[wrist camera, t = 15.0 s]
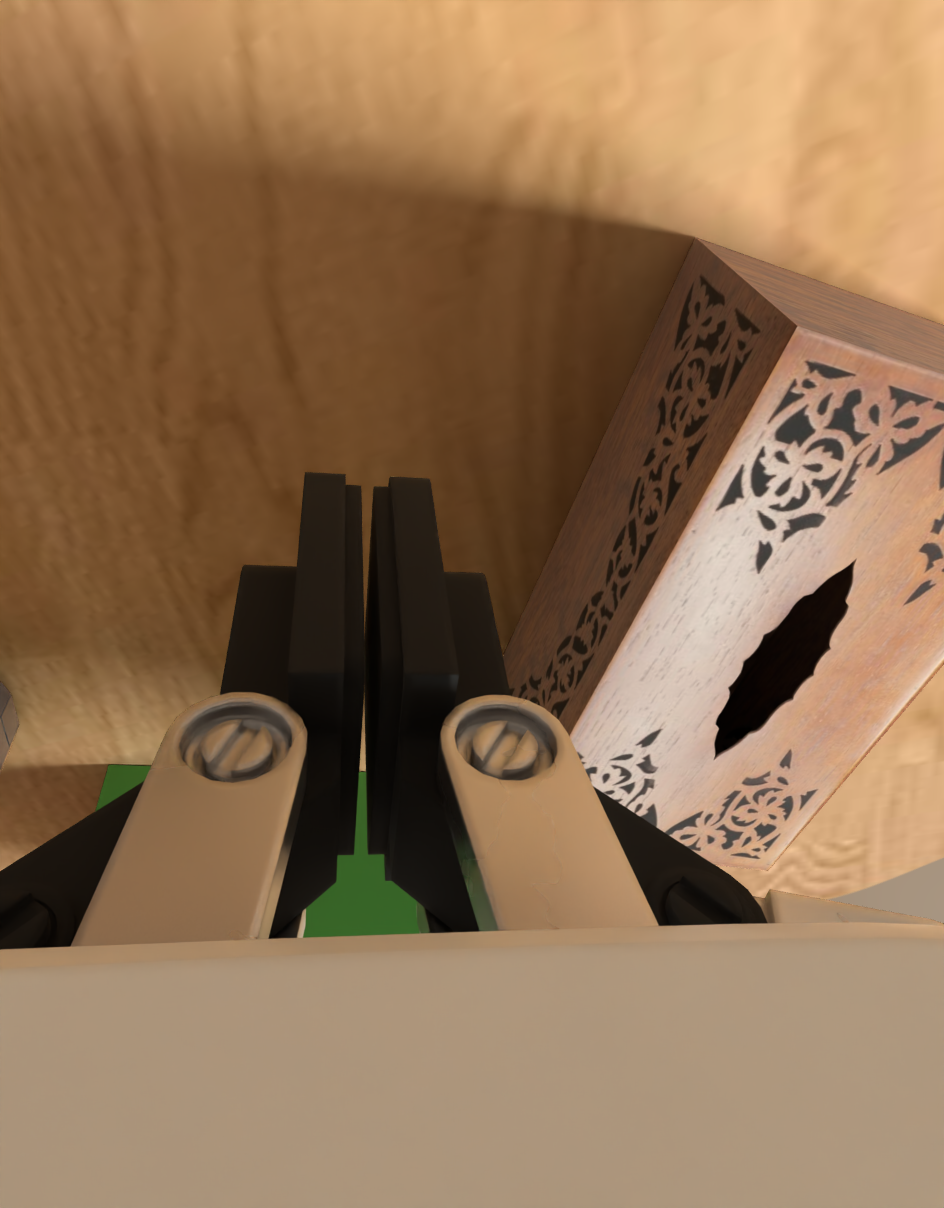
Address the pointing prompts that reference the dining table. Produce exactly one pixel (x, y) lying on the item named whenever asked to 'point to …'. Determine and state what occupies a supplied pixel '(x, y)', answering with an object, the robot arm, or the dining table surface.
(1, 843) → the dining table surface
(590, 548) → the tissue box cover
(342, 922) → the hardback book
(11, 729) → the ashtray
